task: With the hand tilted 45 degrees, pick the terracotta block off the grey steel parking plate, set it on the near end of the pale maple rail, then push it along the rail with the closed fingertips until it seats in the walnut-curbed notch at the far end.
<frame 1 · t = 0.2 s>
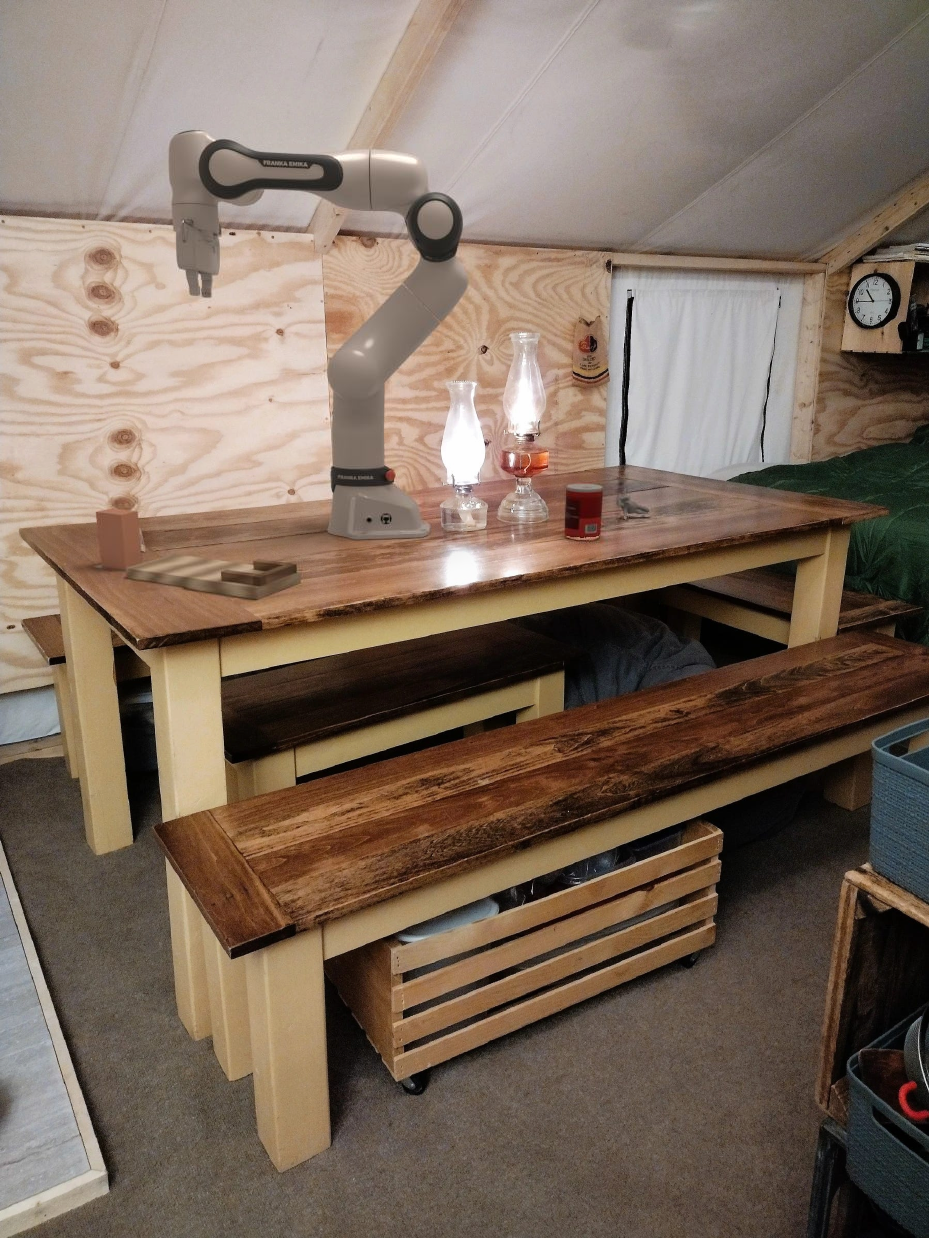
hand: (201, 296, 187), 48 cm above the table, tool pointing down, fingers open, 8 cm apart
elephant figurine: (629, 518, 221), on the table
parking plate: (122, 567, 169), on the table
newspaper: (131, 546, 189), on the table
rail deck: (213, 580, 160), on the table
canned food: (582, 538, 199), on the table
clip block: (122, 565, 168), resting on parking plate
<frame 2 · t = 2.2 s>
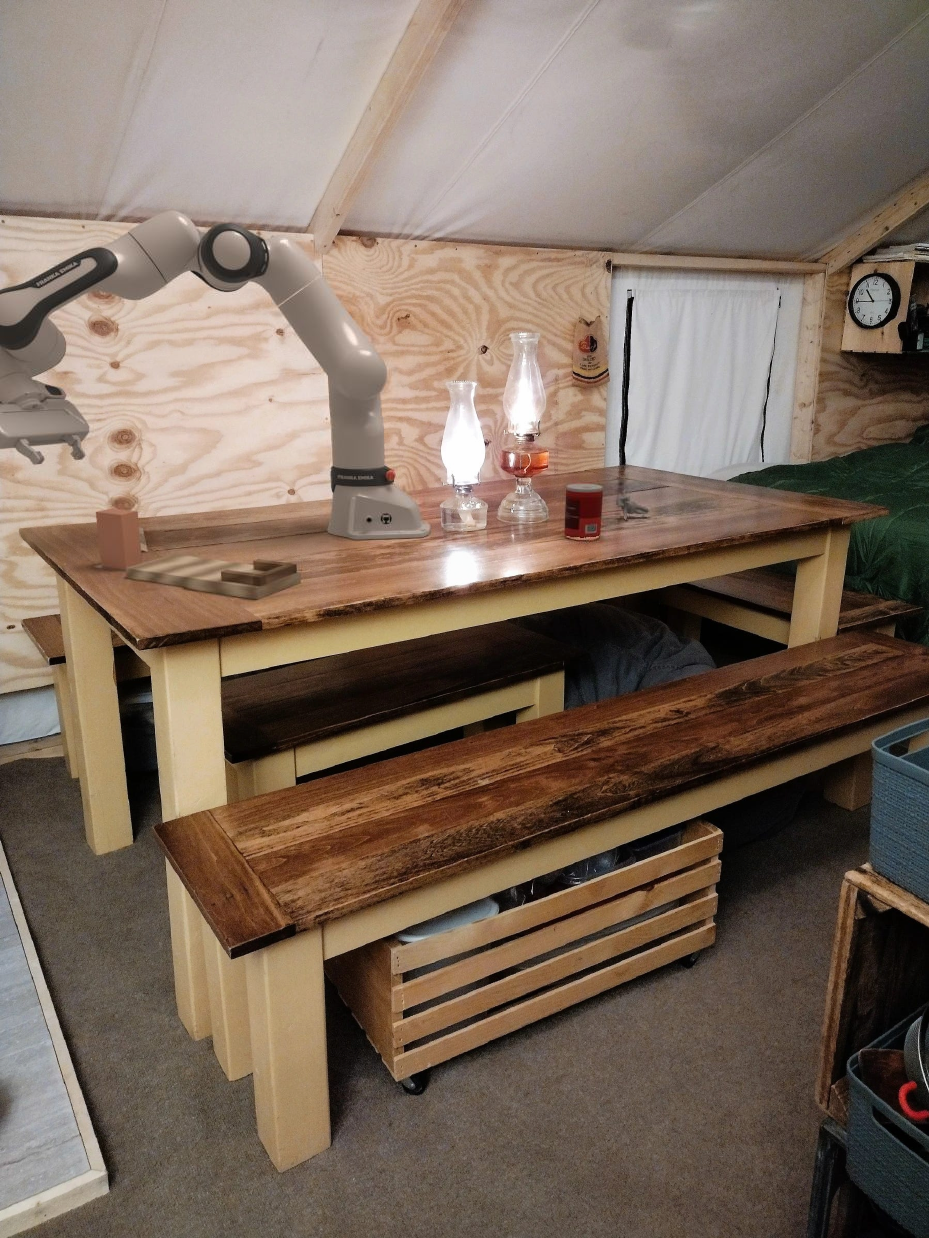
hand: (60, 460, 169), 19 cm above the table, tool tilted 40°, fingers open, 8 cm apart
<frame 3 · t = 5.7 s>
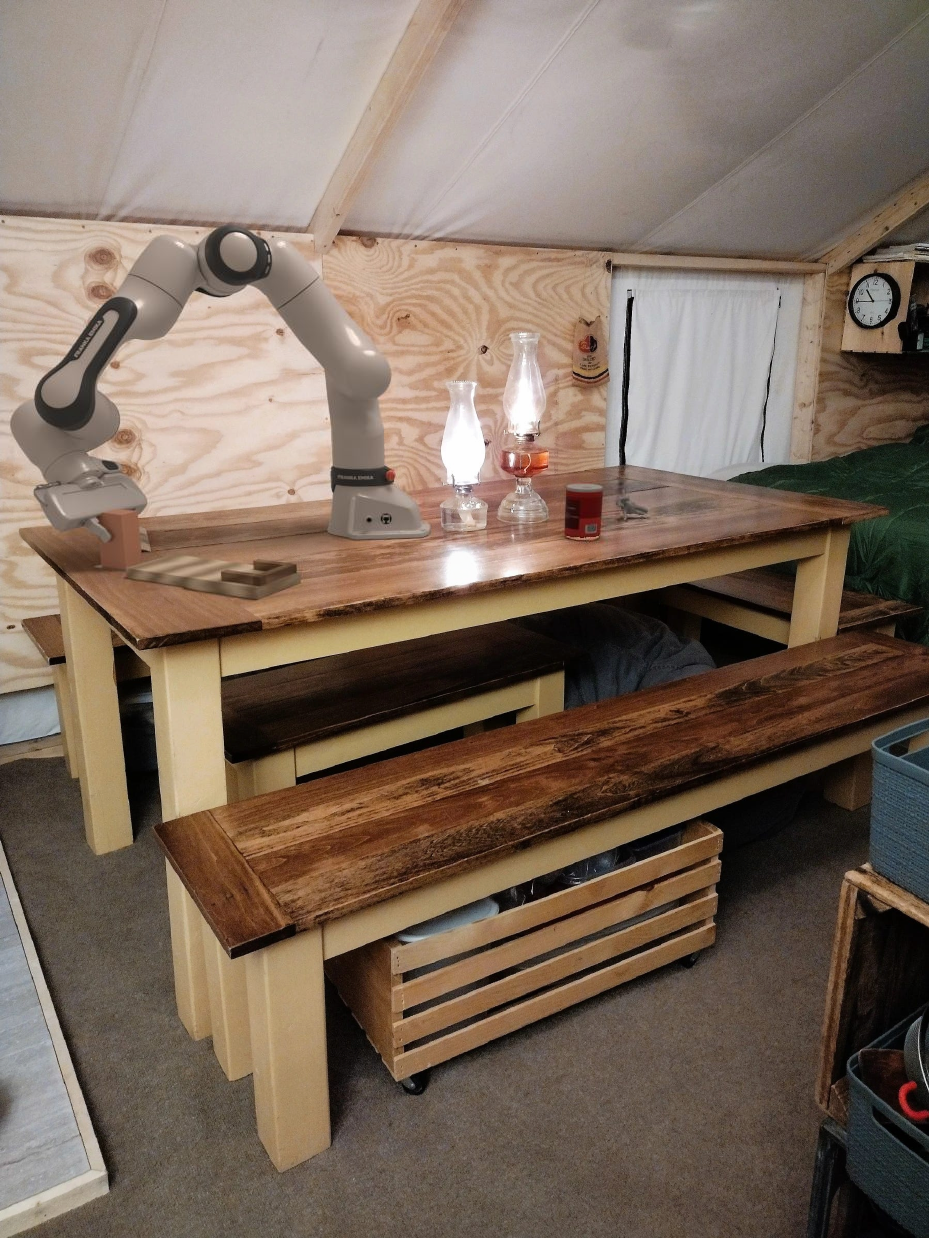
hand: (121, 537, 167), 6 cm above the table, tool tilted 45°, fingers closed on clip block, 4 cm apart
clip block: (122, 565, 168), resting on parking plate, touching gripper
when the fingers open (9 cm above the table, at t = 9.9 s): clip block drops 1 cm, resting on rail deck.
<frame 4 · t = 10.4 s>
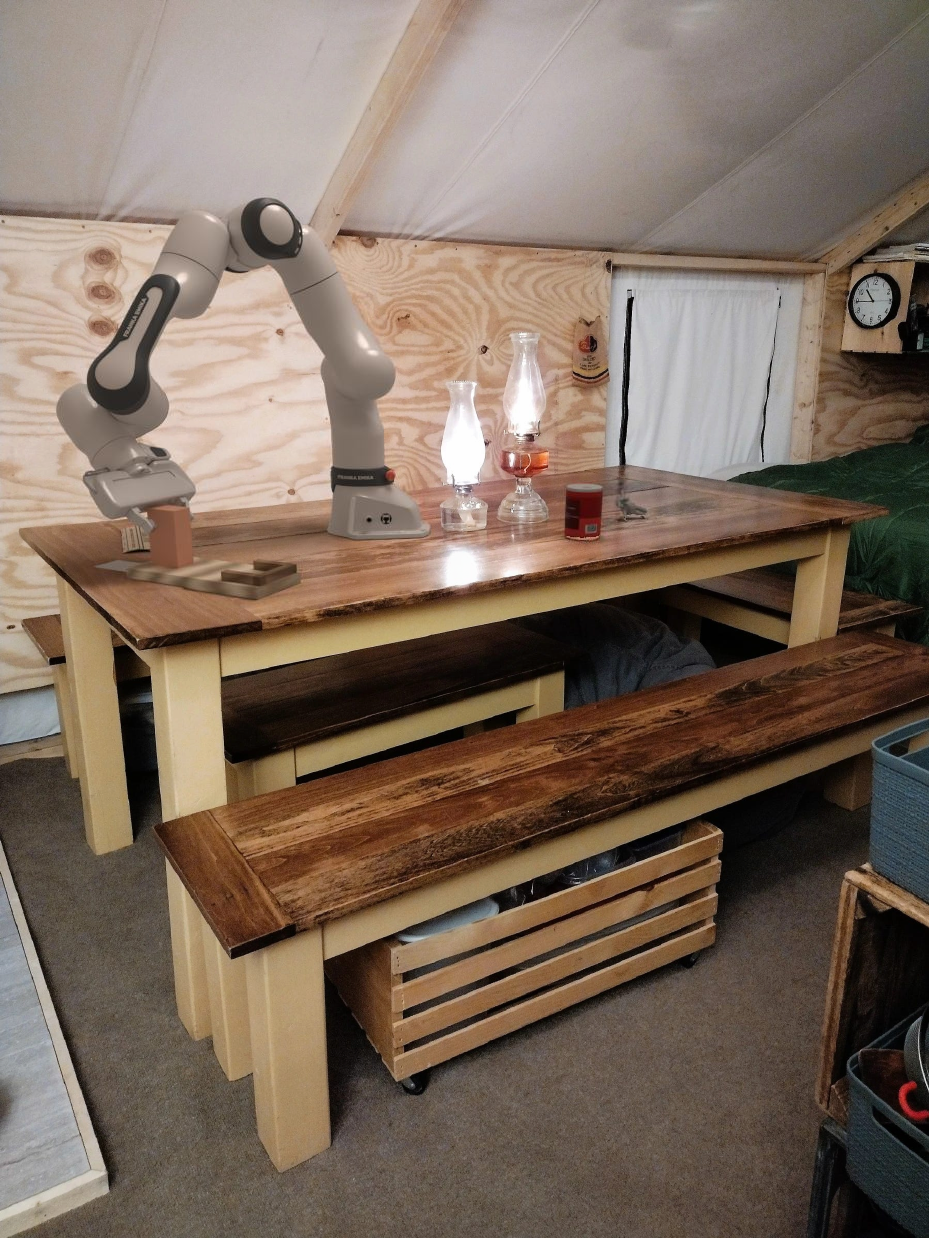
hand: (171, 526, 161), 9 cm above the table, tool tilted 45°, fingers open, 8 cm apart
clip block: (172, 563, 163), point 2 cm above the table, touching rail deck
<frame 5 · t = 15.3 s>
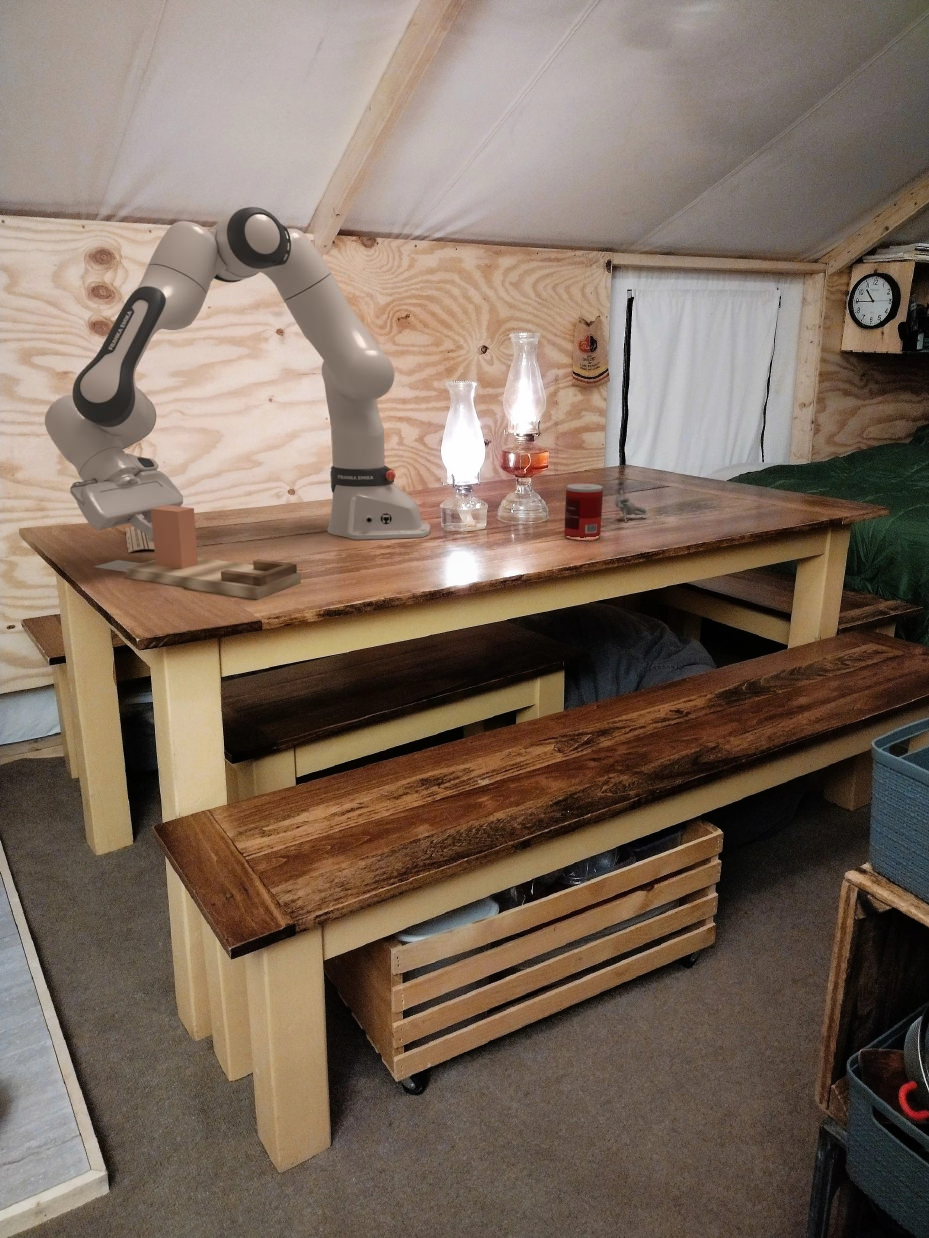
hand: (159, 535, 163), 7 cm above the table, tool tilted 45°, fingers closed, pressing on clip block
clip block: (177, 564, 163), point 2 cm above the table, touching gripper, rail deck
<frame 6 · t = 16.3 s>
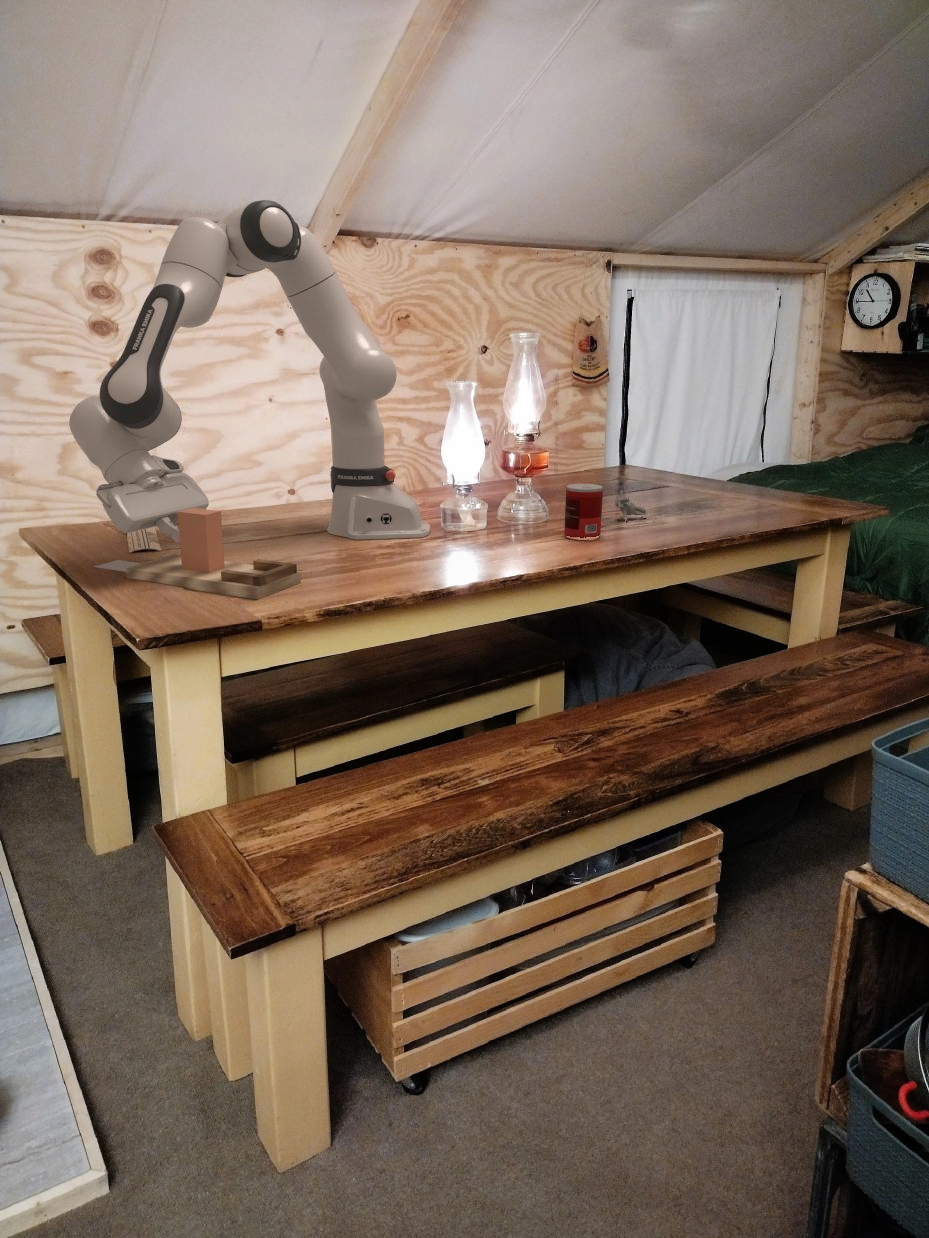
hand: (185, 539, 160), 7 cm above the table, tool tilted 45°, fingers closed, pressing on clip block
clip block: (203, 568, 160), point 2 cm above the table, touching gripper
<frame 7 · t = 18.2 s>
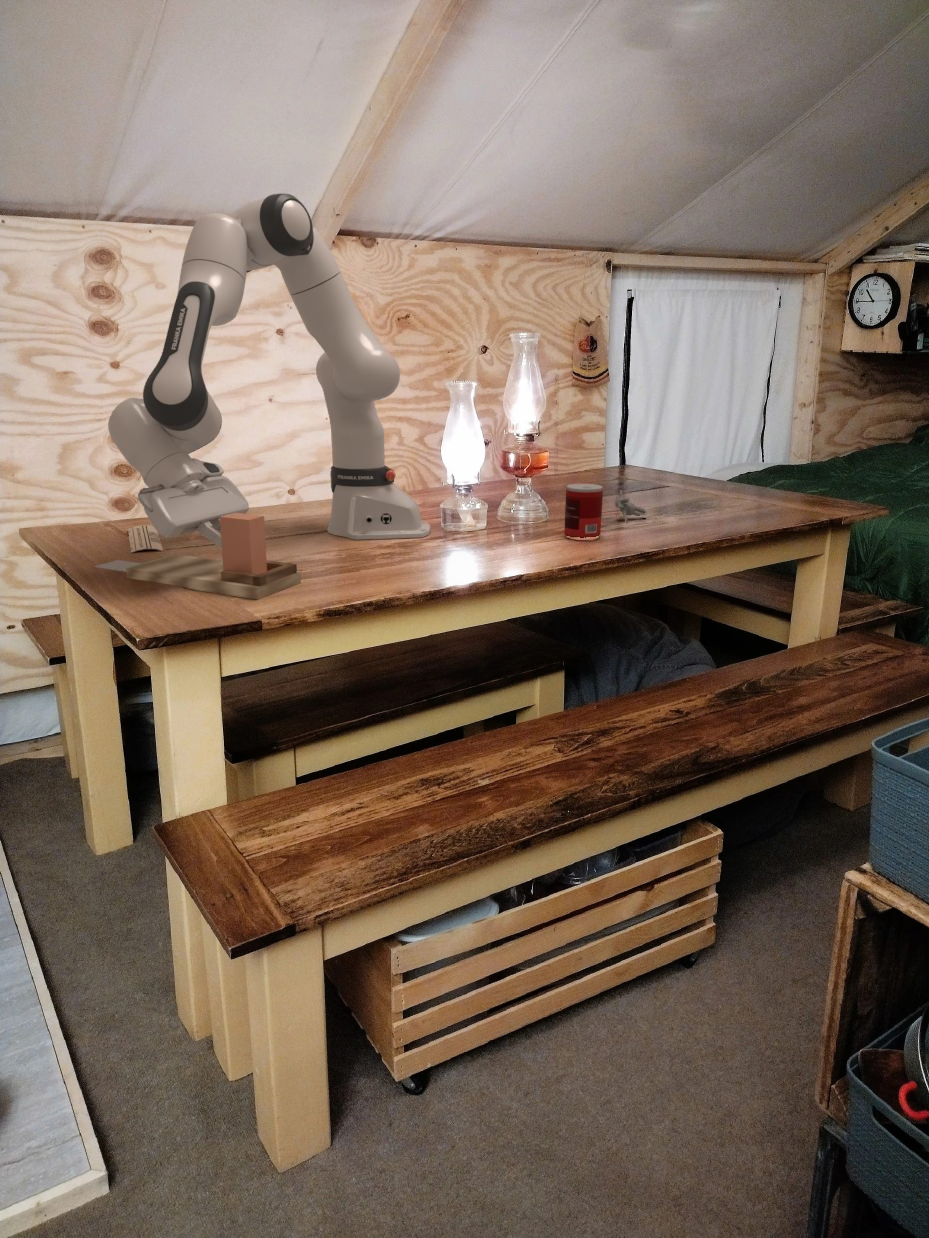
hand: (226, 544, 157), 7 cm above the table, tool tilted 45°, fingers closed
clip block: (245, 574, 157), point 2 cm above the table, touching rail deck
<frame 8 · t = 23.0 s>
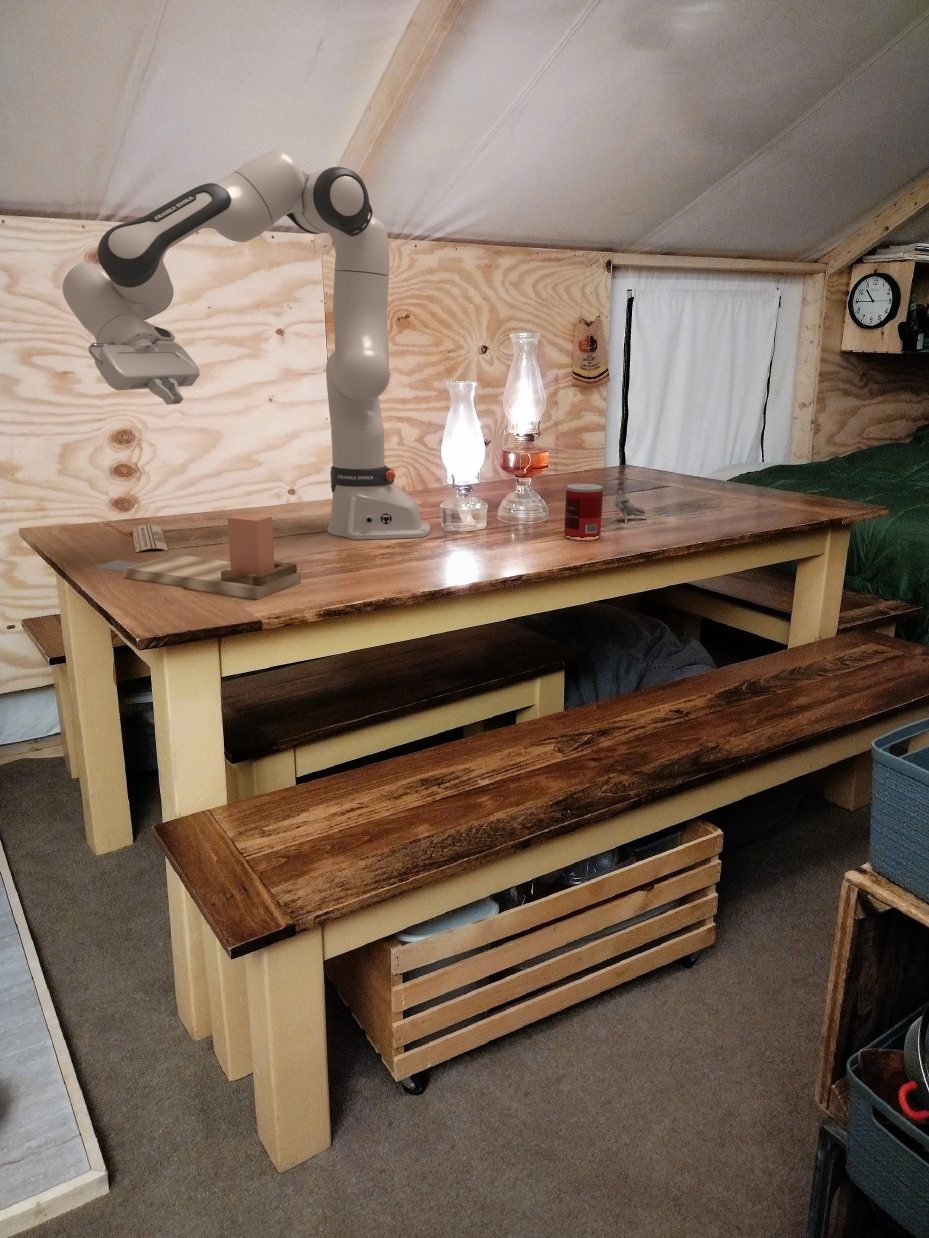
hand: (176, 402, 163), 29 cm above the table, tool tilted 45°, fingers closed
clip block: (253, 575, 156), point 2 cm above the table, touching rail deck
at the end: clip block inside the target area (0.3 cm from its centre), point 2.0 cm above the table; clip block tilted 0°; the gripper is holding nothing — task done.
